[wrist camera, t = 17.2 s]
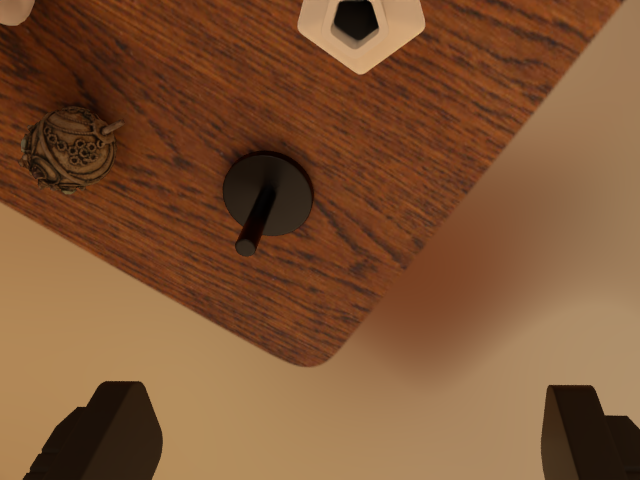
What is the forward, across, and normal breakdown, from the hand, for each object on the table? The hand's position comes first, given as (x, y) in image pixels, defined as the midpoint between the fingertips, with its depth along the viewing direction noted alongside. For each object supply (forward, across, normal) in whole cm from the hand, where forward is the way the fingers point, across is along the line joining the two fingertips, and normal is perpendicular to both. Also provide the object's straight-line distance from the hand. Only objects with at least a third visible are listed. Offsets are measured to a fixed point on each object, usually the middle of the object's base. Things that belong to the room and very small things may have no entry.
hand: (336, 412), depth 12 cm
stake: (+26, +8, +8) cm, 28 cm away
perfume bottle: (+26, 0, -5) cm, 27 cm away
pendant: (+26, +19, +3) cm, 33 cm away
